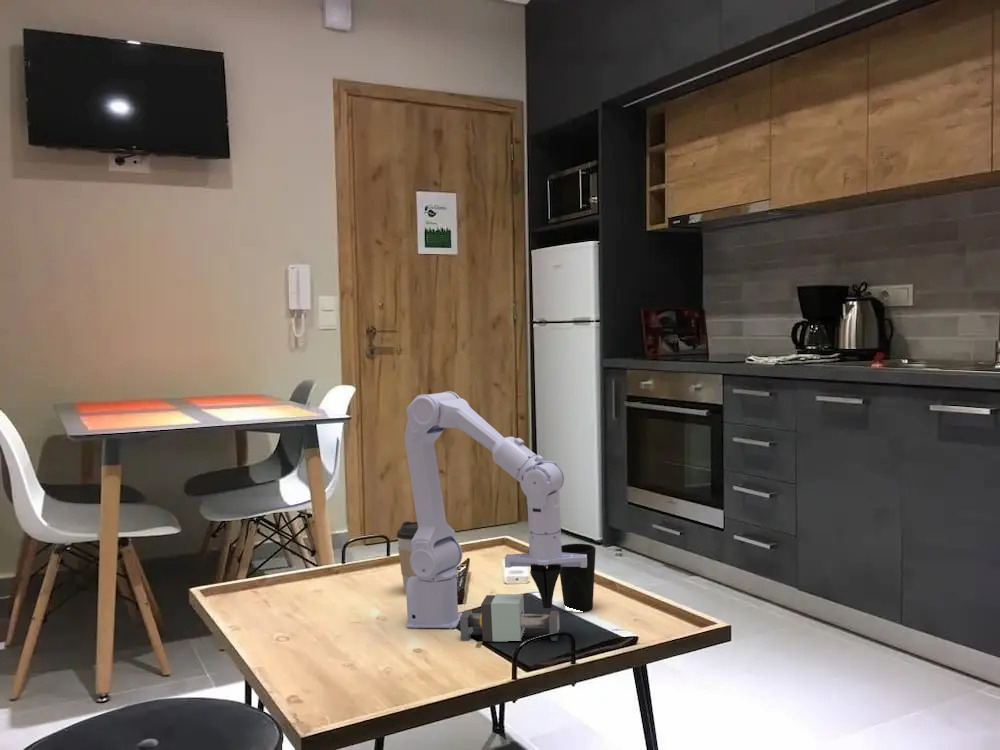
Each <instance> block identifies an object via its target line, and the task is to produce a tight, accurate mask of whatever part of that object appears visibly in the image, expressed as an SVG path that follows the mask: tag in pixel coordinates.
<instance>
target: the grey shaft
mask: <svg viewBox="0 0 1000 750" xmlns="http://www.w3.org/2000/svg"><path fill="white" fill-rule="evenodd" d="M559 611H560V610H551V611H550V613H524V614H521V615H520V616H521V628H525V629H527V628H528V629H548V631H549V634H550V633H552V632H558V631H559V629H561V627H560V612H559ZM461 613H462V615H461V617H460V622H459V626H460V641H464V642H465V641H466V642H467V641H470V639H471V637H472V636H471V634H472V632H473V633H474V629H473V628H479V629H482V615H481V612H480V613H473V611H472V610H471V609H470V610H467V609H466V610H463V612H461ZM472 635H473V634H472ZM483 642H484V641H477V642H476V645H475V647H474V648H481V647H482V645H483Z"/></svg>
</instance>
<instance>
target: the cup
mask: <svg viewBox="0 0 1000 750" xmlns="http://www.w3.org/2000/svg"><path fill="white" fill-rule="evenodd" d="M561 550H562V553H573V554H587V567H586V568H581V567H562V568H561V571H560V574H559V579H560V585H561V593H562V601H563V606H564V605H565V606H567V607H569V608H573V609H576V610H580V611H583V613H588V612H591V611H592V610H593V608H594V606H593V605H594V593H595V592H594V589H595V588H594V587H595V568H596V552H597V551H596V546H594V545H592V544H589V543H588V544H587V543H569V544H563V545H562V544H561Z"/></svg>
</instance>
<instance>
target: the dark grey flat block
mask: <svg viewBox="0 0 1000 750" xmlns="http://www.w3.org/2000/svg"><path fill="white" fill-rule="evenodd" d="M495 595H496V594H495ZM495 595H494V594H486V596H485V597H484V599H483V601H482V602H481V604H480V611H481V612H480V613H481V615H482V628H481V631H482V633H481V634H482V642H494V641H493V637H492V615H491V602H492V601H493V599H494V597H495Z"/></svg>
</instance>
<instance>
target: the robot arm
mask: <svg viewBox="0 0 1000 750" xmlns="http://www.w3.org/2000/svg"><path fill="white" fill-rule="evenodd" d="M405 410H406V417H407V421H406V427H405V430H404V436H403V437H404V446H405V451H406V452H405V453H406V459H407V463H408V471H409V477H410V483H411V489H412V497H413V503H414V510H415V516H416V522H417V523H418V530H417V532H416V533H415V535H414V537H413V539H412V541H411V545H412V553H411V557H410V565H411V568H412V570H413V572H414V573H415V575H416V576H411V577H410V578H409V579H408V582H407V590H406V594H405V597H406V613H407V615H406V617H407V618H406V619H407V624H406V628H409V629H410V628H413V629H421V628H422V629H423V628H425V629H428V628H430V629H446V628H447V629H456V628H457V626H458V625H459V624H460V622H459V621H460V617H461V615H462V613H463V612H459V607H458V605H459V604H458V603H459V602H458V588H457V587H458V586H457V584H458V583H457V572H458V566H459V565H460V564H461V562H462V561H463V560H462V559H463V550H462V546H461V544H460V543H459V541H458V539H457V537H456V531H455V529H454V528H452V527H451V526H450V525H449V523H447V517H446V511H445V505H444V499H443V491H442V485H441V480H440V473H439V465H438V461H437V460H438V459H437V455H436V454H437V453H436V446H435V443H436V440H438V439H439V437H440V436H441V434H443V432H444V430H447V429H459V430H461V431H462V432H464V433H465V434H466V435H468V436H470V437H471V438H472V439H474V440H475V441H476V442H477V443H479V444H480V445H482V446H483V447H484V448H486V449H488V450H489V451H490V452H491V454H492V460H493V462H494V463H495V464H496V465H497V466H499V467H500V468H501V469H502V470H504V471H505V472H506V473H508V474H509V475H510V476H511V477H512V478H514V479H515V480H516V481H517V482H519V485H520V488H521V490H522V492H523V494H524V495H525V497H526V505H527V521H528V524H527V525H528V548H529V550H528V551H529V552H524V553H523V552H522V553H511V554H506V555H505V556H504V567H505V568H506V569H507V568H512V567H514V568H515V567H525V568H527V567H530V571H529V573H530V576H531V578H532V580H533V581H534V583H535V585H536V587H537V589H538V593H539V595H540V599H541V602H542V608H543V609H552V607H553V599H554V593H555V588H556V584H557V581H558V579H559V577H560V571H561V568H562V567H581V568H586V567H587V554H573V553H562V550H561V546H562V529H561V527H562V526H561V505H560V504H561V503H560V501H561V500H560V490H561V489H562V487H563V486H564V483H565V475H564V472H563V470H562V468H561V467H560V466H559V465H558V463H557V462H555V461H552V460H544V457H543V456H541V454H536V453H535V452H533V451H532V450H531V449H530V448H529V447H527V446H525V444H524V442H525V440H523V439H522V438H520V437H517V438H516V437H514V436H507V437H504V436H503V435H502V434H501V433H499V432H498V431H497V430H496V429H495V428H494V427H493V426H492V425H491V424H489V423H488V422H487V421H486V420H485V419H484V418H483V417H481V415H479V414H478V412H476V411H475V410H474V409H473V408H471V406H470V404H469V402H468V401H467V400H466V399H464V398H462V397H460V396H459V395H458V394H457V393H456V392H454V391H450V390H448V391H443V392H439V393H438V392H437V393H432V394H431V393H429V394H419V395H417V396H416V397H414V398H413V400H412V401H411V402H410V404H408V406H407V407H406V409H405Z"/></svg>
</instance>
